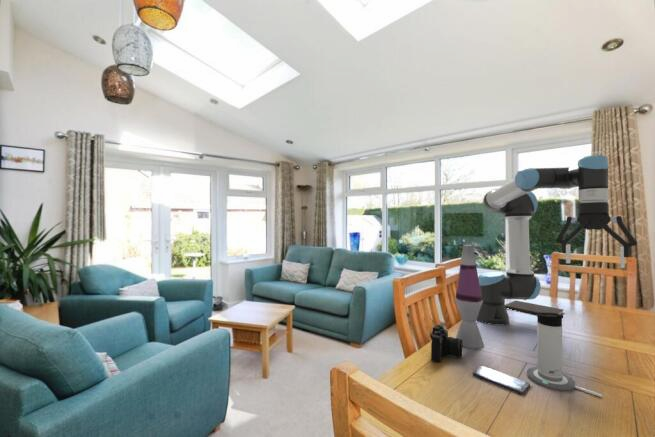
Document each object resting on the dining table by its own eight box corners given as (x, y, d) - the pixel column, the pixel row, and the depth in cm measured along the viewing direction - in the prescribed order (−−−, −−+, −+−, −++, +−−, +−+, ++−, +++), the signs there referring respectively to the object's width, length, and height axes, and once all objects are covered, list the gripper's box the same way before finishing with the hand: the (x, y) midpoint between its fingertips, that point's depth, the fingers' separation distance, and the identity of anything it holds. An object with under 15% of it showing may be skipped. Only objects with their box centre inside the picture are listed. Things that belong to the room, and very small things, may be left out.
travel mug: (557, 384, 87) (556, 317, 87) (533, 374, 93) (532, 311, 93) (568, 379, 90) (567, 314, 90) (544, 369, 96) (543, 308, 96)
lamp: (457, 335, 127) (456, 243, 128) (485, 341, 121) (484, 244, 121) (452, 344, 119) (451, 245, 119) (482, 351, 112) (480, 246, 113)
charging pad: (521, 379, 93) (521, 375, 93) (533, 366, 100) (533, 363, 100) (598, 406, 79) (598, 402, 79) (605, 389, 87) (604, 385, 87)
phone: (472, 375, 95) (472, 372, 95) (481, 368, 99) (481, 365, 99) (522, 395, 84) (522, 391, 84) (530, 386, 89) (530, 382, 89)
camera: (460, 368, 100) (460, 338, 100) (428, 361, 105) (427, 333, 105) (463, 351, 112) (463, 325, 112) (434, 346, 117) (434, 321, 117)
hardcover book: (515, 304, 175) (515, 300, 175) (563, 313, 157) (563, 309, 157) (504, 309, 165) (504, 305, 165) (553, 320, 147) (553, 315, 147)
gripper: (545, 203, 106) (545, 262, 106) (647, 199, 87) (648, 271, 87) (550, 204, 111) (551, 260, 111) (648, 200, 92) (649, 268, 92)
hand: (594, 265), depth 99 cm, fingers open, 13 cm apart
